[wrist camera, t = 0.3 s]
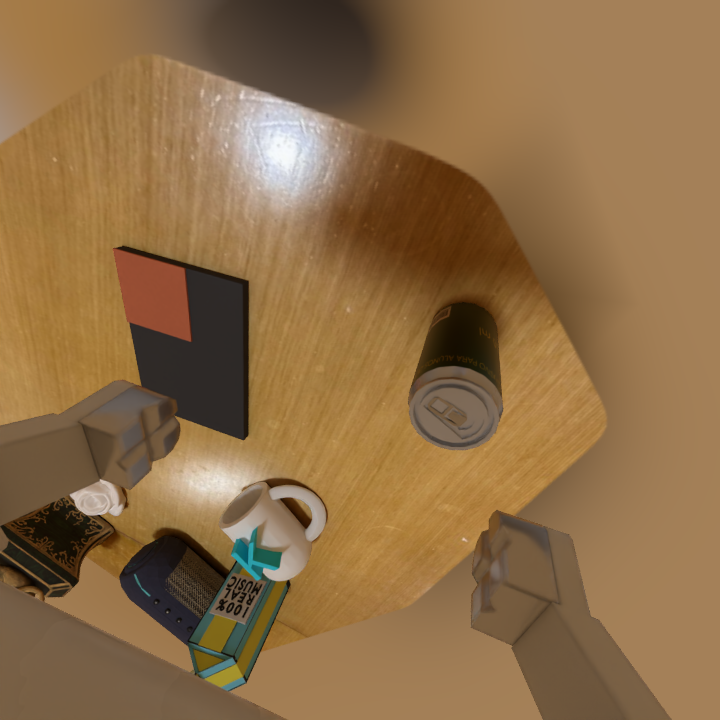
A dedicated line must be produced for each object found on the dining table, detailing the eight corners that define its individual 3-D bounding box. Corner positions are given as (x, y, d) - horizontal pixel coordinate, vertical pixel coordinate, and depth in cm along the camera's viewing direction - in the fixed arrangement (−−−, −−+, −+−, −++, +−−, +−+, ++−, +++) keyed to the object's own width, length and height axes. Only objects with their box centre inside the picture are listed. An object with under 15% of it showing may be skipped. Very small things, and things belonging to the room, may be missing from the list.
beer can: (418, 335, 32) (387, 418, 22) (456, 286, 29) (441, 356, 19) (468, 369, 32) (462, 467, 22) (512, 323, 29) (526, 413, 19)
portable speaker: (277, 611, 66) (247, 677, 57) (245, 616, 71) (214, 678, 62) (175, 519, 60) (125, 578, 52) (148, 532, 65) (99, 588, 57)
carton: (238, 546, 59) (152, 683, 43) (281, 557, 56) (207, 705, 41) (249, 574, 62) (173, 710, 47) (290, 585, 60) (224, 731, 45)
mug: (269, 617, 44) (205, 551, 41) (281, 556, 53) (228, 499, 50) (351, 572, 43) (291, 500, 40) (349, 517, 52) (299, 455, 48)
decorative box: (40, 494, 71) (-94, 597, 54) (50, 475, 66) (-95, 583, 49) (123, 557, 74) (20, 672, 57) (138, 543, 69) (30, 666, 52)
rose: (47, 496, 60) (65, 477, 55) (73, 476, 63) (91, 457, 58) (95, 535, 62) (116, 521, 57) (117, 513, 65) (139, 498, 60)
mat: (122, 245, 36) (112, 248, 35) (248, 281, 34) (241, 284, 33) (151, 400, 47) (143, 406, 46) (248, 435, 45) (242, 441, 44)
